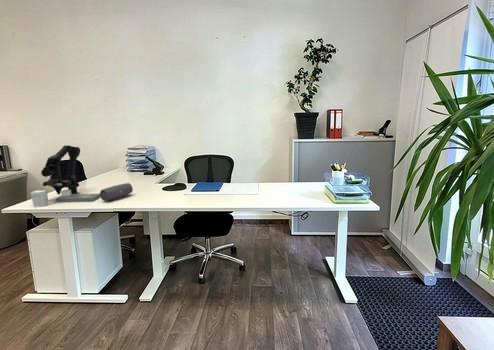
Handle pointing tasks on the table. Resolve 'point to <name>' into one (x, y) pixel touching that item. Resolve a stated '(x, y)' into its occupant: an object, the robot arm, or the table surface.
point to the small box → (40, 198)
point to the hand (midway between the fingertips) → (58, 194)
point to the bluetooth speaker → (116, 192)
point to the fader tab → (66, 193)
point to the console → (78, 198)
